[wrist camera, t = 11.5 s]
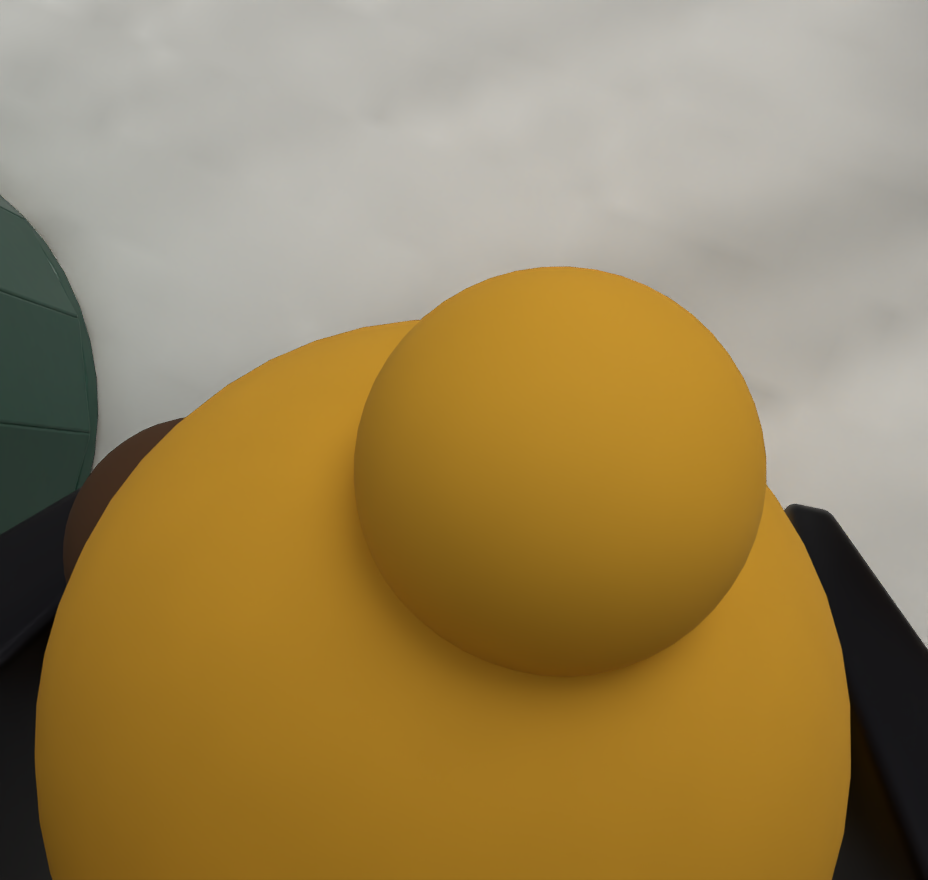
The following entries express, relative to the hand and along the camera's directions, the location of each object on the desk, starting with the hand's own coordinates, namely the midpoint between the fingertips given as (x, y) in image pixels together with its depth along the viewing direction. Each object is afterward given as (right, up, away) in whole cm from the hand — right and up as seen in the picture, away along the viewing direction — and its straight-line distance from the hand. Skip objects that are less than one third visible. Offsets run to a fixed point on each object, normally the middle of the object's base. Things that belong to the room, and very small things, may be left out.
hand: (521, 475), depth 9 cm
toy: (0, -2, +6) cm, 7 cm away
